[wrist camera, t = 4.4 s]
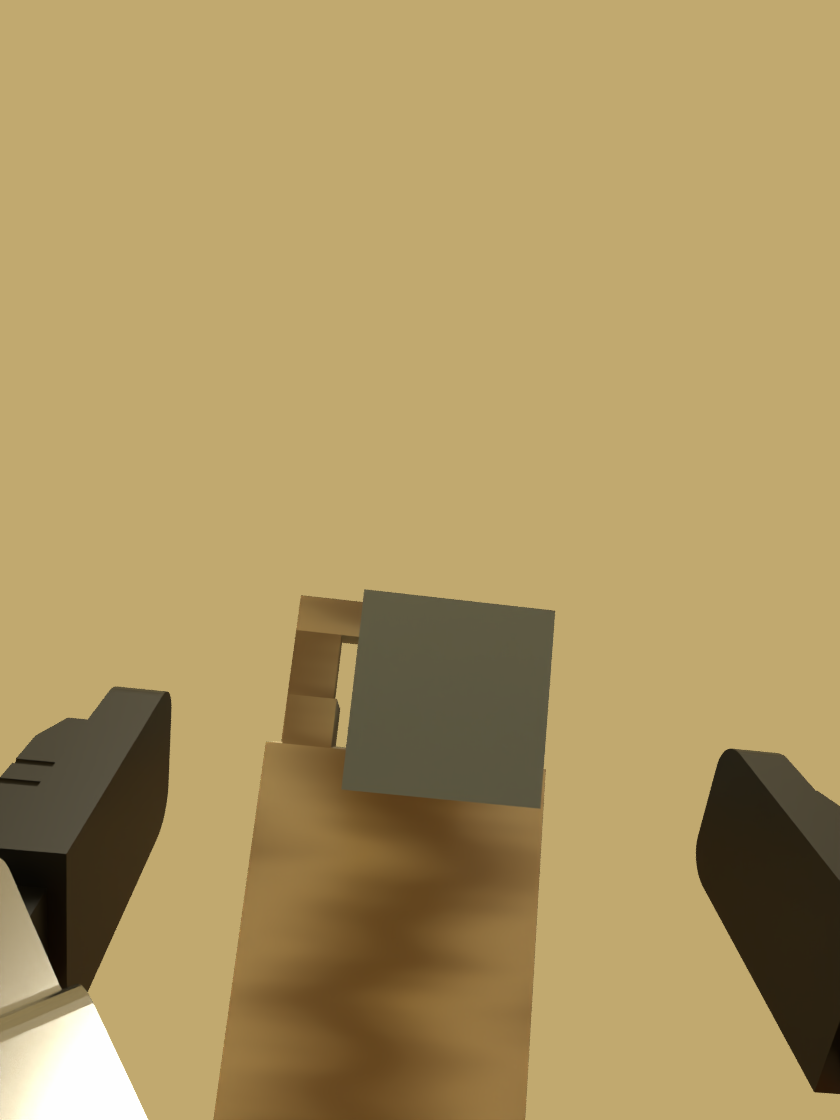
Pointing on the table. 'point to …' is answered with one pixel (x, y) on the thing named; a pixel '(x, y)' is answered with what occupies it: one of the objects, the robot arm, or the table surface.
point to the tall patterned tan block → (376, 932)
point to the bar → (450, 700)
